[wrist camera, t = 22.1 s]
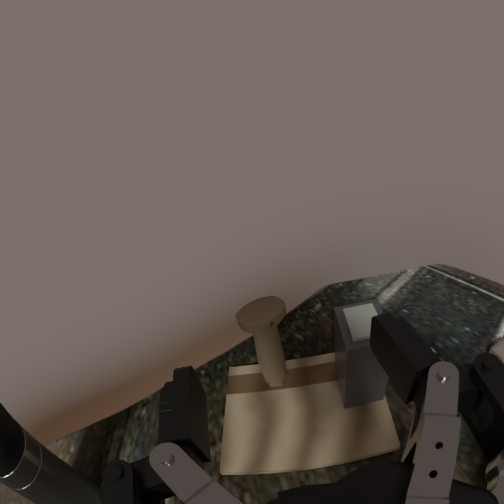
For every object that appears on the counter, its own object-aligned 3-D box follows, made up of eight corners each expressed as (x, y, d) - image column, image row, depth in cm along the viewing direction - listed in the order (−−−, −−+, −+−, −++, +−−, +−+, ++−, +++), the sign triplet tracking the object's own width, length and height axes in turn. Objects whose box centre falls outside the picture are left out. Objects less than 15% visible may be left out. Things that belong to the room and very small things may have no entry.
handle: (251, 381, 45) (230, 312, 38) (283, 362, 47) (270, 291, 40) (267, 400, 41) (248, 331, 34) (301, 379, 43) (292, 307, 36)
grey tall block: (344, 408, 36) (347, 347, 30) (335, 368, 43) (333, 304, 37) (383, 399, 36) (396, 336, 30) (370, 361, 43) (376, 296, 37)
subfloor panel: (222, 474, 31) (219, 472, 31) (230, 371, 49) (229, 367, 48) (398, 449, 29) (400, 446, 28) (366, 350, 46) (367, 345, 46)
